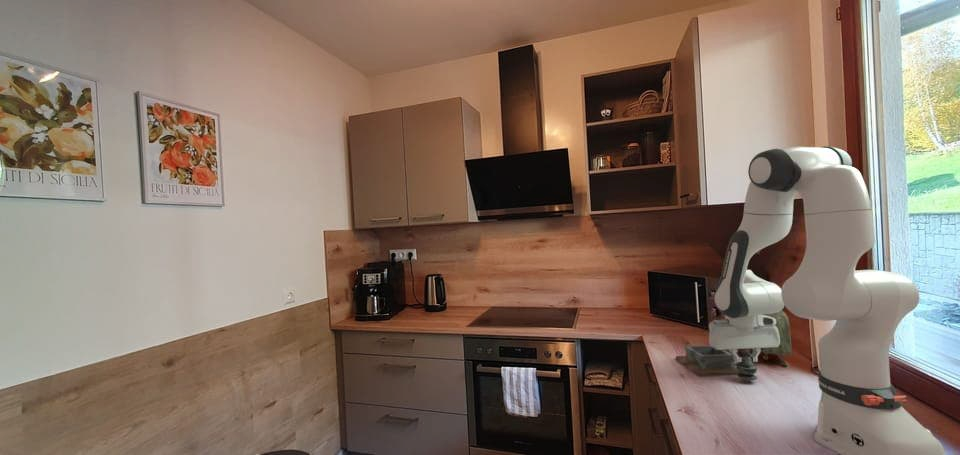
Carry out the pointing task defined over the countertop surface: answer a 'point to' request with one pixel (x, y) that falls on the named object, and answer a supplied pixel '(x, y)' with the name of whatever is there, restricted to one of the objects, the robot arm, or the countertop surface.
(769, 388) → the countertop surface
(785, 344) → the green tall textured piece
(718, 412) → the countertop surface
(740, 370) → the grey chess piece
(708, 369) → the socket caddy
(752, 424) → the countertop surface
